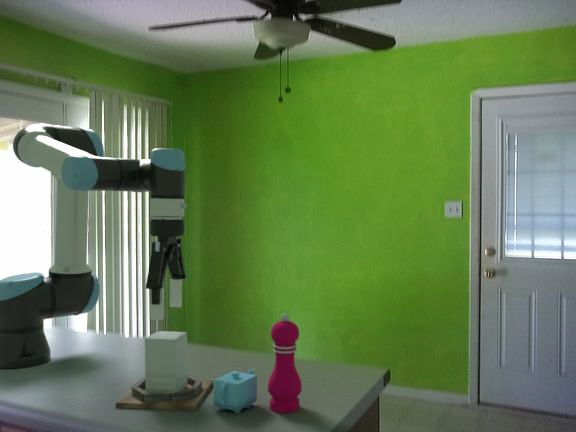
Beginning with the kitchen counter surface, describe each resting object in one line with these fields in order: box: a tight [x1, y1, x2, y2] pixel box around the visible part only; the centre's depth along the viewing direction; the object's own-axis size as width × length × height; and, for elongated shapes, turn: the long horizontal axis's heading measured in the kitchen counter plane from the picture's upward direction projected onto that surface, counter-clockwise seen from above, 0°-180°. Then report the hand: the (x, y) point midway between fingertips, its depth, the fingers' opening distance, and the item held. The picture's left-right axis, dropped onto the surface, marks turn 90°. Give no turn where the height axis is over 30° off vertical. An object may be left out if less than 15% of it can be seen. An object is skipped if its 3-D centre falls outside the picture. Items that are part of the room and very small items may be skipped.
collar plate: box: [115, 374, 214, 411], centre depth 125 cm, size 17×17×2 cm
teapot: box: [213, 367, 258, 414], centre depth 118 cm, size 12×6×8 cm, turn 149°
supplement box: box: [144, 330, 188, 393], centre depth 125 cm, size 7×7×13 cm
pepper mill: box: [267, 313, 303, 414], centre depth 117 cm, size 7×7×20 cm
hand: (166, 312), depth 124 cm, fingers open, 13 cm apart
